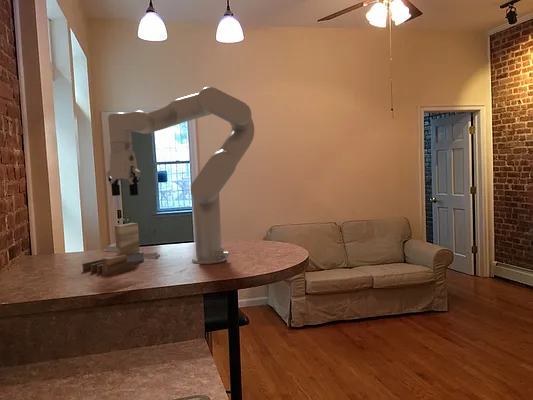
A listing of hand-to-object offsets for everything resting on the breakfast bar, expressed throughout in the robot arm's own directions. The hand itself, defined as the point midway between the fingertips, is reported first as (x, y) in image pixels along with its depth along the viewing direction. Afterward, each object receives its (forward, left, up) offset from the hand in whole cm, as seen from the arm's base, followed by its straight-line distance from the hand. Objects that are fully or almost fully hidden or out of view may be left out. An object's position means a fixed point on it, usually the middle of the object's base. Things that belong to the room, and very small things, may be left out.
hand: (125, 195), depth 167 cm
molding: (+20, -19, -27) cm, 38 cm away
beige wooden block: (0, 0, -25) cm, 25 cm away
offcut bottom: (-7, +12, -25) cm, 28 cm away
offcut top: (-7, +12, -22) cm, 26 cm away
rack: (-3, +12, -26) cm, 29 cm away
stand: (0, 0, -26) cm, 26 cm away
